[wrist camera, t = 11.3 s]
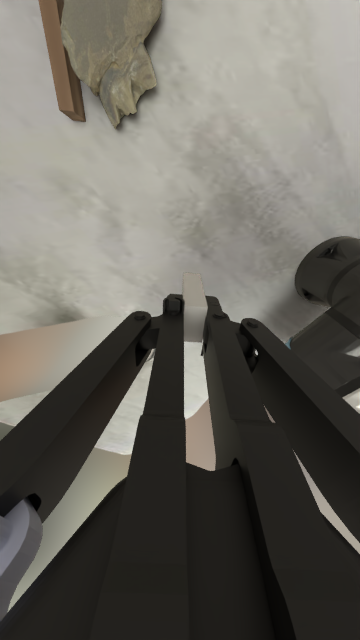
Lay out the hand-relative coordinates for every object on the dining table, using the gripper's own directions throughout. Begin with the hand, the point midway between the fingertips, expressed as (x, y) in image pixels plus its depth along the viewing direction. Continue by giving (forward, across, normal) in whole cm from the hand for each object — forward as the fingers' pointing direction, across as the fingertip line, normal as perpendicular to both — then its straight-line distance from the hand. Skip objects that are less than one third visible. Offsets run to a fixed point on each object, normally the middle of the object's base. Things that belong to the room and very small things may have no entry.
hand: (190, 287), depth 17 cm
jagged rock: (+25, +10, -24) cm, 36 cm away
